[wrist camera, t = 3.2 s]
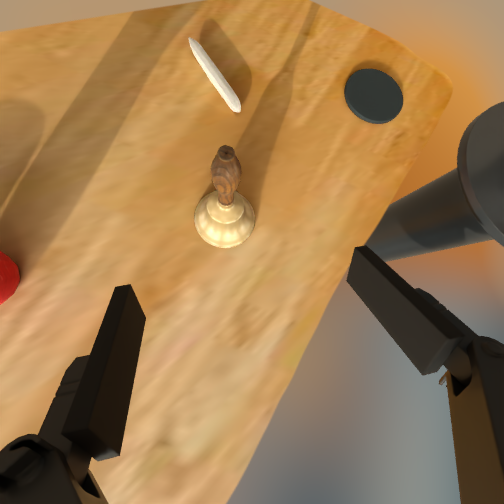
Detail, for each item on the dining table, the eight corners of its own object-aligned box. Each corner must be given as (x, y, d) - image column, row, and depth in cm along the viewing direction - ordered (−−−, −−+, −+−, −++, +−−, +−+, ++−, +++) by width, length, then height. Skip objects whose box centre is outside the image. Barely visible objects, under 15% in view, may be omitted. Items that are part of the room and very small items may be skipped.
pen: (194, 43, 37) (192, 32, 36) (243, 112, 36) (244, 104, 35) (185, 47, 37) (183, 36, 35) (235, 117, 36) (235, 108, 34)
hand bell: (263, 237, 33) (298, 185, 17) (205, 256, 32) (187, 217, 16) (243, 183, 34) (260, 89, 18) (186, 199, 33) (153, 112, 17)
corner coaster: (399, 77, 41) (402, 74, 40) (401, 128, 39) (404, 125, 38) (344, 66, 40) (346, 63, 39) (343, 118, 38) (345, 115, 38)
